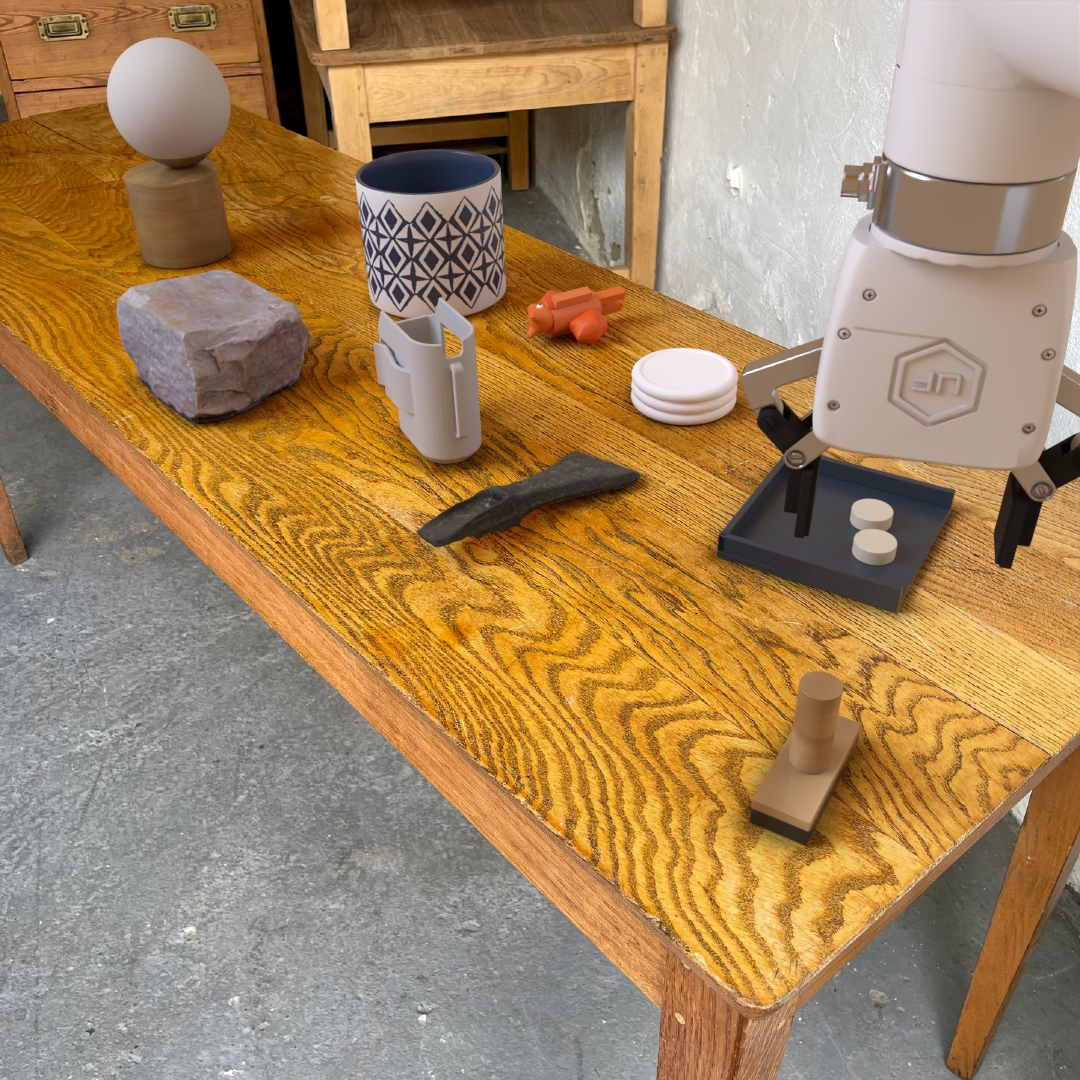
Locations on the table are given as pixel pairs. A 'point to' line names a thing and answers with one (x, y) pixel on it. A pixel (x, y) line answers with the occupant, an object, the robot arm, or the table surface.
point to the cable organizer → (432, 382)
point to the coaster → (684, 386)
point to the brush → (807, 761)
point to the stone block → (211, 342)
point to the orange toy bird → (574, 313)
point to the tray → (838, 531)
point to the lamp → (173, 150)
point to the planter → (432, 231)
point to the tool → (525, 498)
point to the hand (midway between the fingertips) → (900, 537)
